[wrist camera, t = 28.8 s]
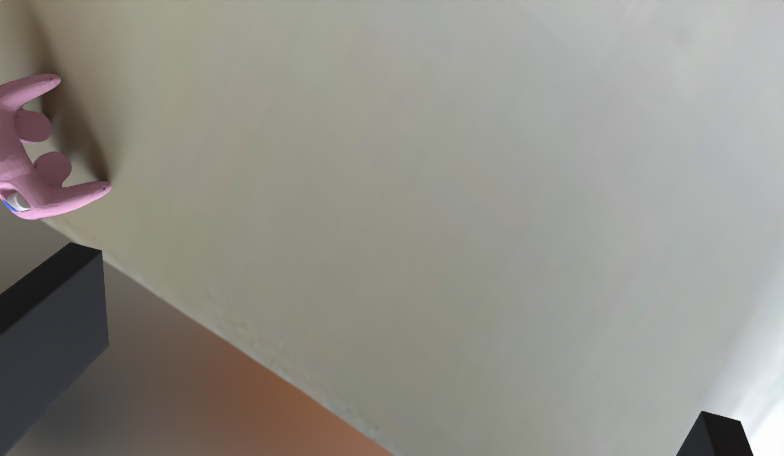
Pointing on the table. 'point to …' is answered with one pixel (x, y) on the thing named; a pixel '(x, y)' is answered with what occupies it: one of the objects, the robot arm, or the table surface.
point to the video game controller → (45, 176)
